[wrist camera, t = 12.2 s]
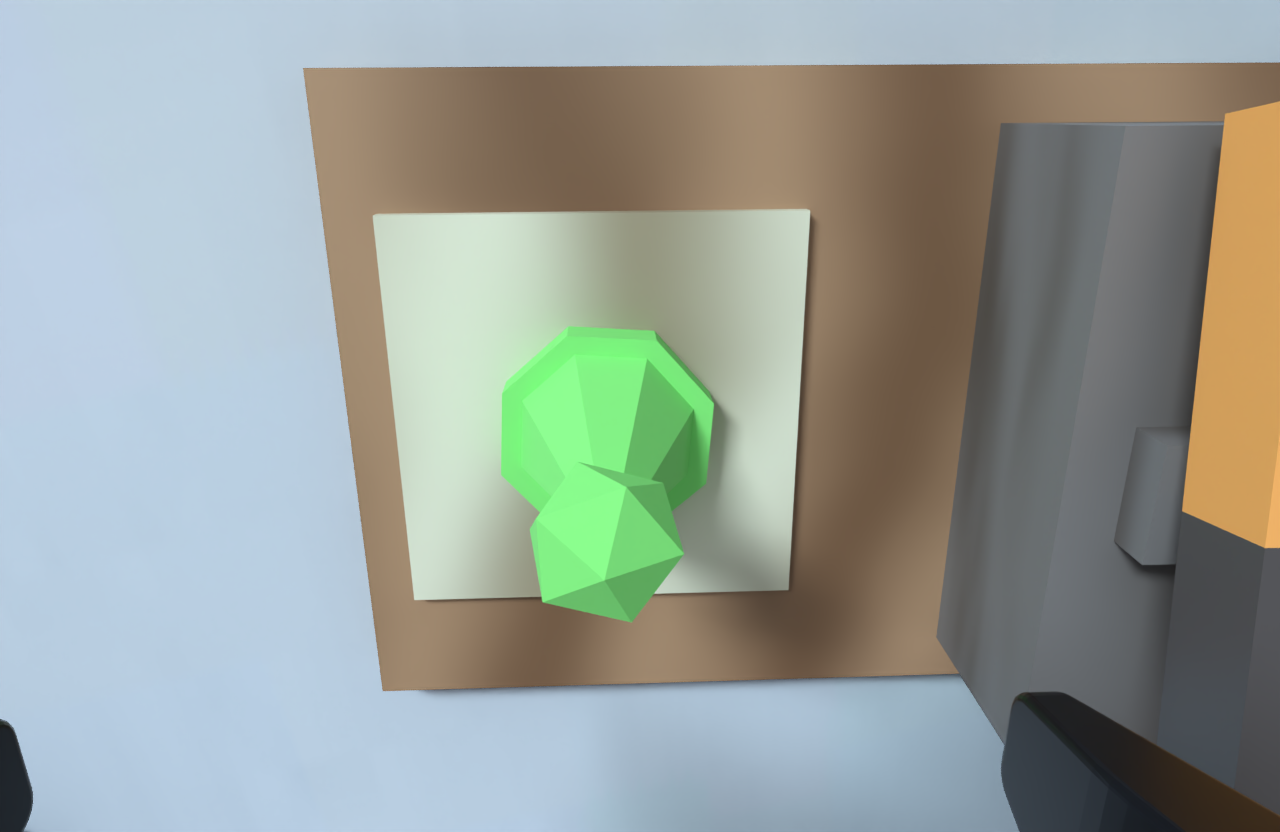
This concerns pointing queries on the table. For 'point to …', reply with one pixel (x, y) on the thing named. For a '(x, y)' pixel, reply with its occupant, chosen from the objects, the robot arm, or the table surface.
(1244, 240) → the breaker rocker
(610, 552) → the game piece
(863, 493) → the switch board
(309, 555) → the table surface
